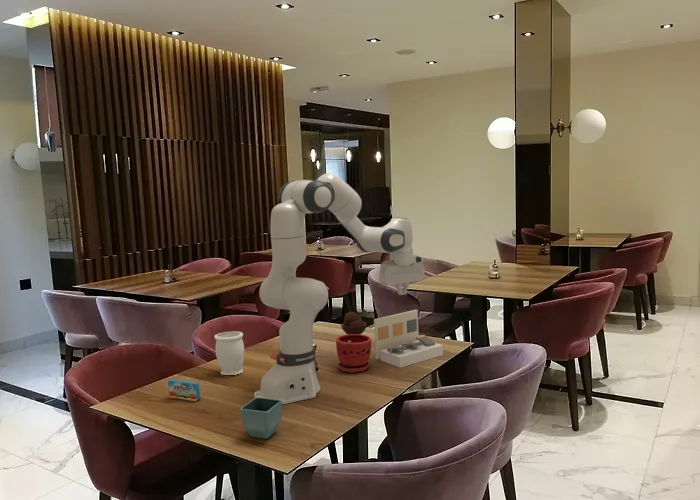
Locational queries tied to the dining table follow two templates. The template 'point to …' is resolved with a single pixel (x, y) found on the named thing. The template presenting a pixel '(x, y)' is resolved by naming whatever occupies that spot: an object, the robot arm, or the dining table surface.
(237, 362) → the jar
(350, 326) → the ice cream bowl
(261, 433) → the flower pot
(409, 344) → the switch middle
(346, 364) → the plant pot
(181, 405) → the dining table surface
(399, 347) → the switch near
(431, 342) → the switch far
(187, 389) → the blue printed box
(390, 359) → the switch unit
